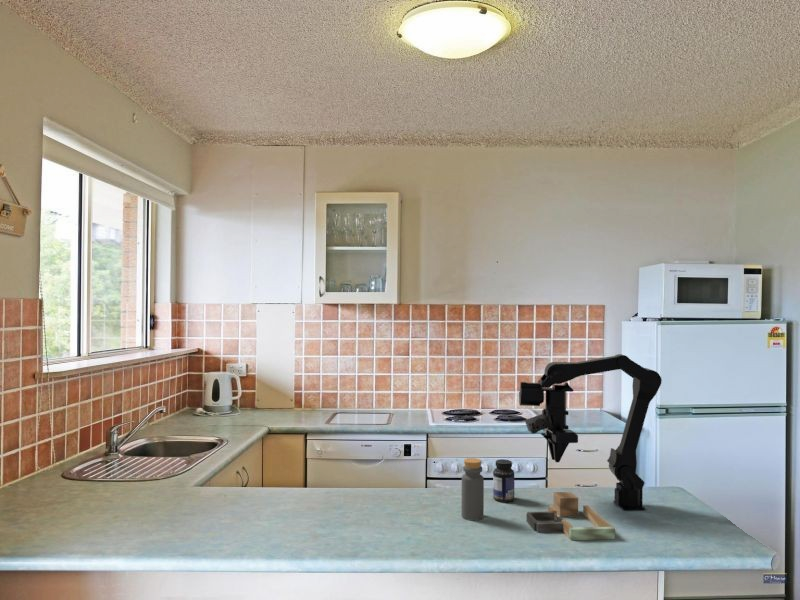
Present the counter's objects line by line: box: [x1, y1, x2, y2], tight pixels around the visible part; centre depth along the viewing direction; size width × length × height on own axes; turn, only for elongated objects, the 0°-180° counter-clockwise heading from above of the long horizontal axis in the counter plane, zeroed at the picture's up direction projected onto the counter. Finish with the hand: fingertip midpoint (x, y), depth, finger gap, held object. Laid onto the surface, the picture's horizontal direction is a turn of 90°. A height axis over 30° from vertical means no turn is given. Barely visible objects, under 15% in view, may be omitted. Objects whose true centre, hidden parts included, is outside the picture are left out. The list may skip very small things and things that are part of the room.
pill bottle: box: [492, 458, 515, 503], centre depth 166 cm, size 6×6×11 cm
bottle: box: [461, 457, 485, 521], centre depth 152 cm, size 6×6×15 cm
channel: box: [525, 504, 616, 541], centre depth 145 cm, size 18×16×2 cm
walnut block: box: [553, 491, 579, 518], centre depth 155 cm, size 5×5×5 cm
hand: (555, 460), depth 163 cm, fingers open, 2 cm apart
